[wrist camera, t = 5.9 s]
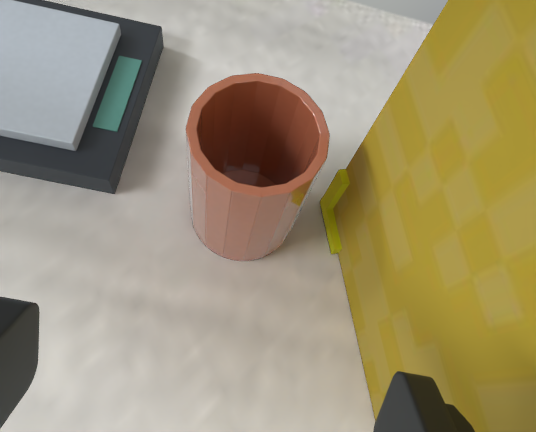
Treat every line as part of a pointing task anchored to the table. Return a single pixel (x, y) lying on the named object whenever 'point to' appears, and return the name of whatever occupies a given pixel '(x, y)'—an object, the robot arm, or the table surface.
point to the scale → (71, 91)
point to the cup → (252, 162)
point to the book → (450, 219)
